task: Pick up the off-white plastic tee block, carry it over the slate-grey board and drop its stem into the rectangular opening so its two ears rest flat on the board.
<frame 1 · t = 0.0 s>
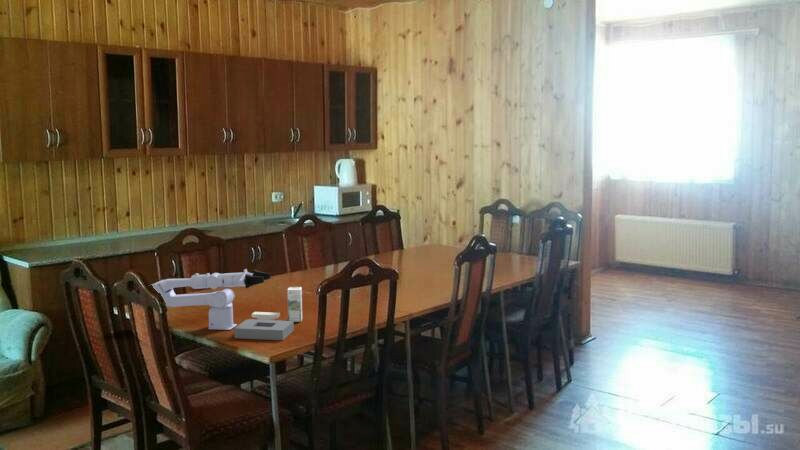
hand: (266, 277, 297), 22 cm above the table, tool horizontal, fingers open, 7 cm apart
tee block: (266, 325, 306), on the table
slotted board: (264, 334, 293), on the table
syrup box: (295, 321, 314), on the table
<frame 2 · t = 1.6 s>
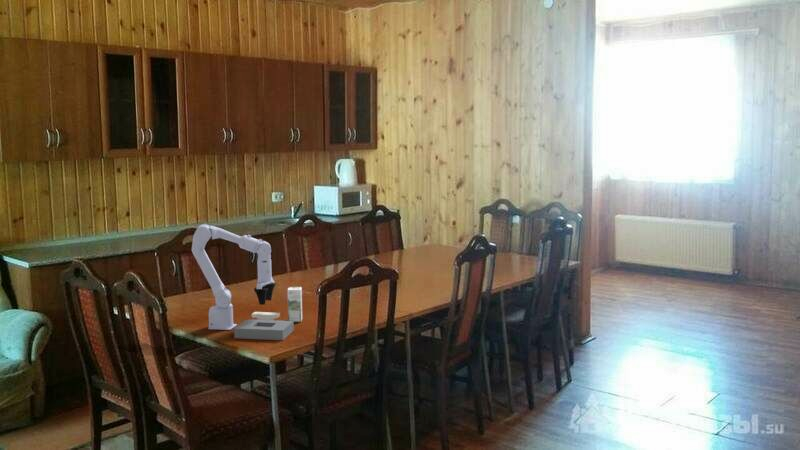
hand: (265, 302, 305), 10 cm above the table, tool pointing down, fingers open, 7 cm apart
nothing on the table moved.
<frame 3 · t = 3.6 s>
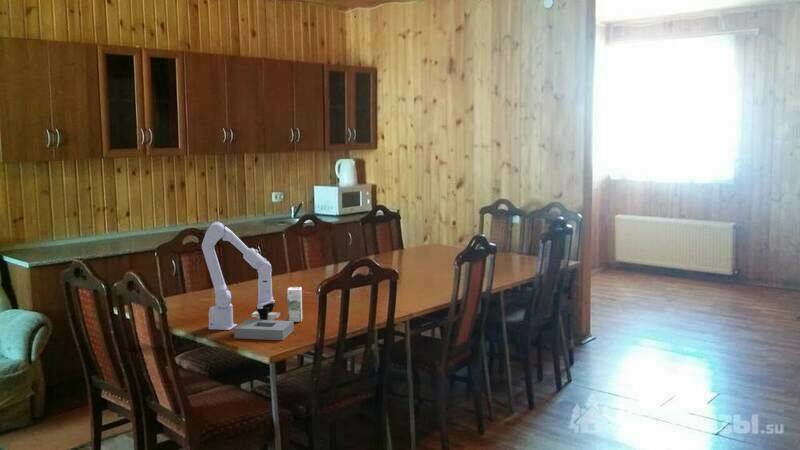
hand: (265, 321, 306), 2 cm above the table, tool pointing down, fingers closed on tee block, 4 cm apart
tee block: (266, 325, 306), on the table, touching gripper
everything else where it was.
when the fingers open (5 cm above the table, at t = 7.4 s): tee block drops 3 cm, resting on slotted board.
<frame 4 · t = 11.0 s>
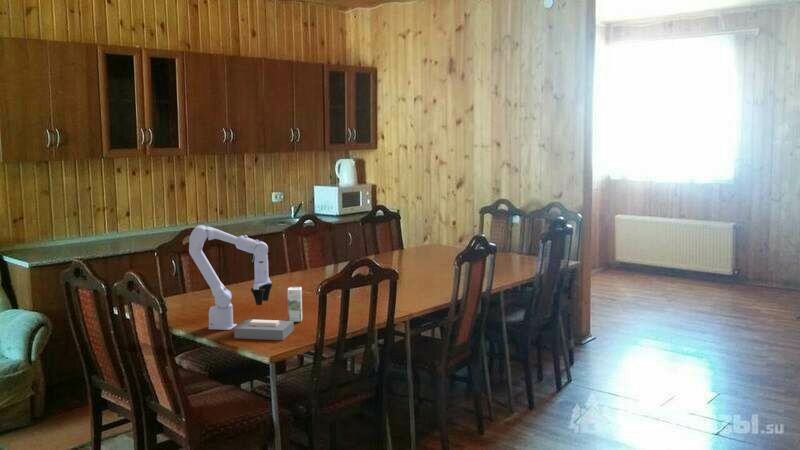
hand: (262, 302, 304), 10 cm above the table, tool pointing down, fingers open, 7 cm apart
tee block: (264, 333, 293), resting on slotted board
everything else where it was.
at the end: tee block 0.1 cm off-centre on the slotted board, point 0.2 cm above the slotted board's base; tee block tilted 0°; the gripper is holding nothing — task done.
